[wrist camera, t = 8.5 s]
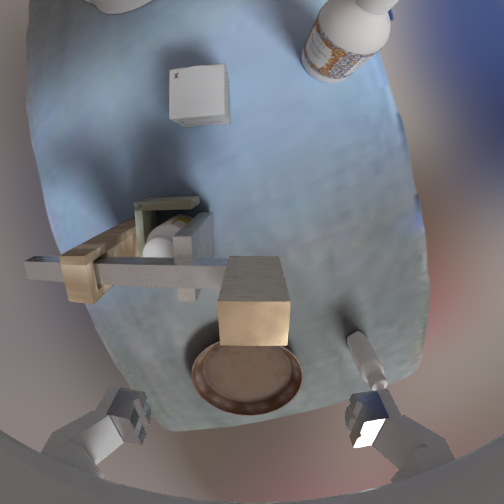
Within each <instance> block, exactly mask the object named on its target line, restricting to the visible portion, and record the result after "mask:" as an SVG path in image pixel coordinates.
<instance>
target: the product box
mask: <svg viewBox="0 0 504 504" xmlns="http://www.w3.org/2000/svg"><path fill="white" fill-rule="evenodd" d="M169 119H170V120H172V121H174V122H176V123H177V124H179V125H181V126H183V127H193V126H202V125H229V124H231V117H230V89H229V78H228V74H227V70H226V66H225V64H212V65H197V66H191V67H184V68H176V69H171V70H169Z"/></svg>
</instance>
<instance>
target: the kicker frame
mask: <svg viewBox="0 0 504 504" xmlns="http://www.w3.org/2000/svg"><path fill="white" fill-rule="evenodd" d="M199 203H200V199H199V196H174V197H151V198H146V199H143V200H140V201H137V202H135V203H134V211H135V219H129V220H127V221H125V222H123V223H121V224H119V225H117V226H115V227H113V228H111V229H109V230H107V231H105V232H103V233H101V234H99V235H97V236H95V237H93V238H91V239H89V240H88V241H86V242H84V243H82V244H80V245H78V246H76V247H74V248H73V249H71V250H69V251H67V252H65V253H64V254H62V255H60V256H59V258H60V263H61V268H62V273H63V278H64V282H65V287H66V291H67V295H68V299H69V301H70V302H79V303H88V304H95V303H96V302H97V301H98V300H99V299H100V298H101V297H102V296H103V295H104V294H105V293H106V292H107V291H108V290H109V289H110V288H111V287H112V286H113V285H99V284H97V282H96V277H95V271H94V265H93V260H95V259H96V258H98V257H143V249H144V246H145V244H146V241H147V238H148V236H149V234H150V233H151V231H152V230H154V229H155V228H156V227H157V213H156V210H181V209H192V208H194V207H195V206H197V205H198V204H199Z"/></svg>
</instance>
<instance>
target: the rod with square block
mask: <svg viewBox="0 0 504 504" xmlns="http://www.w3.org/2000/svg"><path fill="white" fill-rule="evenodd" d="M173 248H174V258H172V257H98V258H96V259H95V260H93V265H94V271H95V277H96V282H97V284H99V285H117V286H136V287H159V288H177V291H178V300H179V301H186V302H196V300H197V298H198V295H199V293H200V290H201V289H221V290H220V293H219V297H218V301H217V302H218V319H219V335H220V345H230V346H287V343H288V331H289V318H290V303H291V301H290V297H289V293H288V289H287V285H286V281H285V278H284V274H283V270H282V266H281V262H280V258H279V256H229V258H214V243H213V212H200V213H199V214H197V215H196V216H195V217H194V218H193V219H192V220H191V221H190V222H188V223H187V224H186V225H185V226H184V227H183V228H182V229H181V230H179V231H178V232H177V233H176V234H175V235H174V236H173ZM24 263H25V269H26V273H27V277H28V279H34V280H45V281H46V280H47V281H57V282H58V281H59V282H64V278H63V273H62V268H61V263H60V258H59V256H33V257H31V258H29V259H27V260H26V261H24Z"/></svg>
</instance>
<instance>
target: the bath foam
mask: <svg viewBox="0 0 504 504" xmlns="http://www.w3.org/2000/svg"><path fill="white" fill-rule="evenodd" d="M398 1H399V0H328V1H327V2H326V3H325V4H324V6H323V7H322V8H321V10H320V12H319V14H318V16H317V18H316V21H315V23H314V25H313V27H312V30H311V32H310V34H309V36H308V39H307V41H306V43H305V46H304V48H303V51H302V56H301V58H302V63H303V66H304V67H305V69H306V70H307V72H308V73H309V74H310V75H311V76H313V77H314V78H316V79H318V80H320V81H322V82H327V83H336V82H340V81H342V80H344V79H346V78H347V77H348V76H349V75H351V74H352V73H353V72H354V71H355V70H357V69H358V68H359V67H360V66H361V65H362V64H363V63H365V62H366V61H367V60H368V59H369V58H371V57H372V56H373V55H374V54H375V53H377V52H378V51H379V50H380V49H381V48H382V47H383V46H384V44H385V43H386V41H387V39H388V37H389V34H390V18H389V15H388V11H389V10H390V9H391V8H392V7H393V6H394V5H395V4H396V3H397V2H398Z"/></svg>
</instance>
